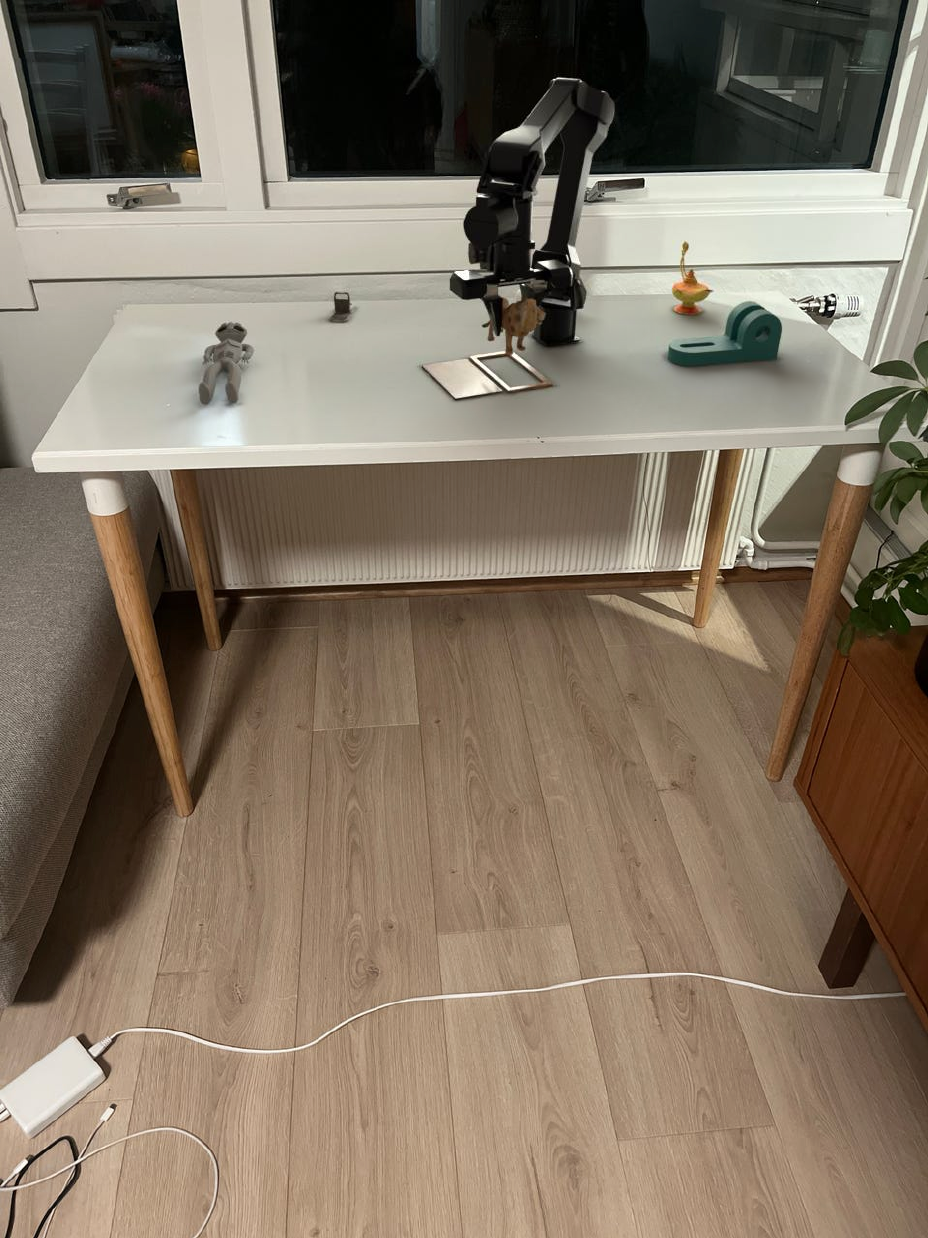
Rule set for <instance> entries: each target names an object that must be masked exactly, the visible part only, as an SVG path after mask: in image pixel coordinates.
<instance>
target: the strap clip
mask: <svg viewBox="0 0 928 1238" xmlns="http://www.w3.org/2000/svg"><path fill="white" fill-rule="evenodd" d="M337 295H346V296H347V298H337ZM333 304H334V305H333V306H334V311H335V312H334V314H333V315H332V316H331V321H332V322H346V321H348V320H349V318H350V314H352V313H353V311H354V310H355V303H351V296H350V293H349V292H347V291H335V292H334V294H333Z"/></svg>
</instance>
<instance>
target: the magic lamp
mask: <svg viewBox="0 0 928 1238" xmlns="http://www.w3.org/2000/svg"><path fill="white" fill-rule="evenodd" d="M681 247H682V250H681V258H680V262H679V267H680V274H681V279H682V281H679V282H676V283H674V284H673V285H672V287H671V293H672V295H673V296H674V298H675V299H677V300H678V301H680V302H682V303H681V304H680V305H678V306H675V307H674V308H673V311H674V312H675V313H678V314H682V315H688V316H689V315H698V314H701V312H702V309H701V308H699V306H697V305H696V303H699V302H700V303H701V302H702V301H704V300H705V299H707V298H708V297H709V295H710V294H711V293H713V292H714V289H709V286H707V285H706V284H704V283H701V282H698V279H697V277H696V276H695V271H694V269H693V268H690V269H689V270H688V271H686V267H685V265H686V264H685V255H686V253H687V252H688V251H689V249H690V244H689V243H688V242H687V241H686V240H684V242H683V243H682V245H681Z"/></svg>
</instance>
